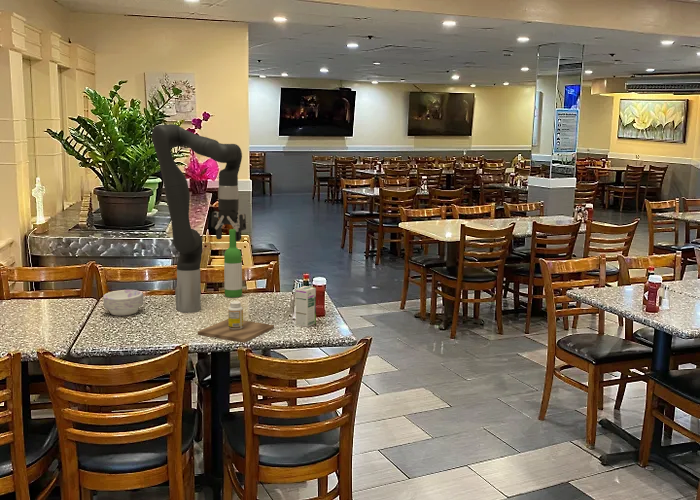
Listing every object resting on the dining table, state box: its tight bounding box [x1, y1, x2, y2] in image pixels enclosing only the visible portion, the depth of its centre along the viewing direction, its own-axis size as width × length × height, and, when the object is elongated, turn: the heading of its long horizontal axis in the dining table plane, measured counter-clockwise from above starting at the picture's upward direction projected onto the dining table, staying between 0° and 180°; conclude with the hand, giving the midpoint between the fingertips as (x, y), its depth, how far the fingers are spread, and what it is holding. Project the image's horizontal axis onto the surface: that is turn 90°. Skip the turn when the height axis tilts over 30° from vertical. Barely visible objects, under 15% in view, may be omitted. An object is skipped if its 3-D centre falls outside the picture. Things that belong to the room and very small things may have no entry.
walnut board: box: [197, 318, 275, 343], centre depth 249 cm, size 20×20×1 cm
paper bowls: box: [102, 289, 144, 317], centre depth 271 cm, size 15×15×8 cm
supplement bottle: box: [227, 300, 244, 330], centre depth 248 cm, size 5×5×10 cm
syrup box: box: [294, 285, 317, 328], centre depth 258 cm, size 6×6×14 cm
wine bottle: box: [223, 228, 243, 298], centre depth 300 cm, size 8×8×30 cm
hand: (228, 240), depth 257 cm, fingers open, 8 cm apart
